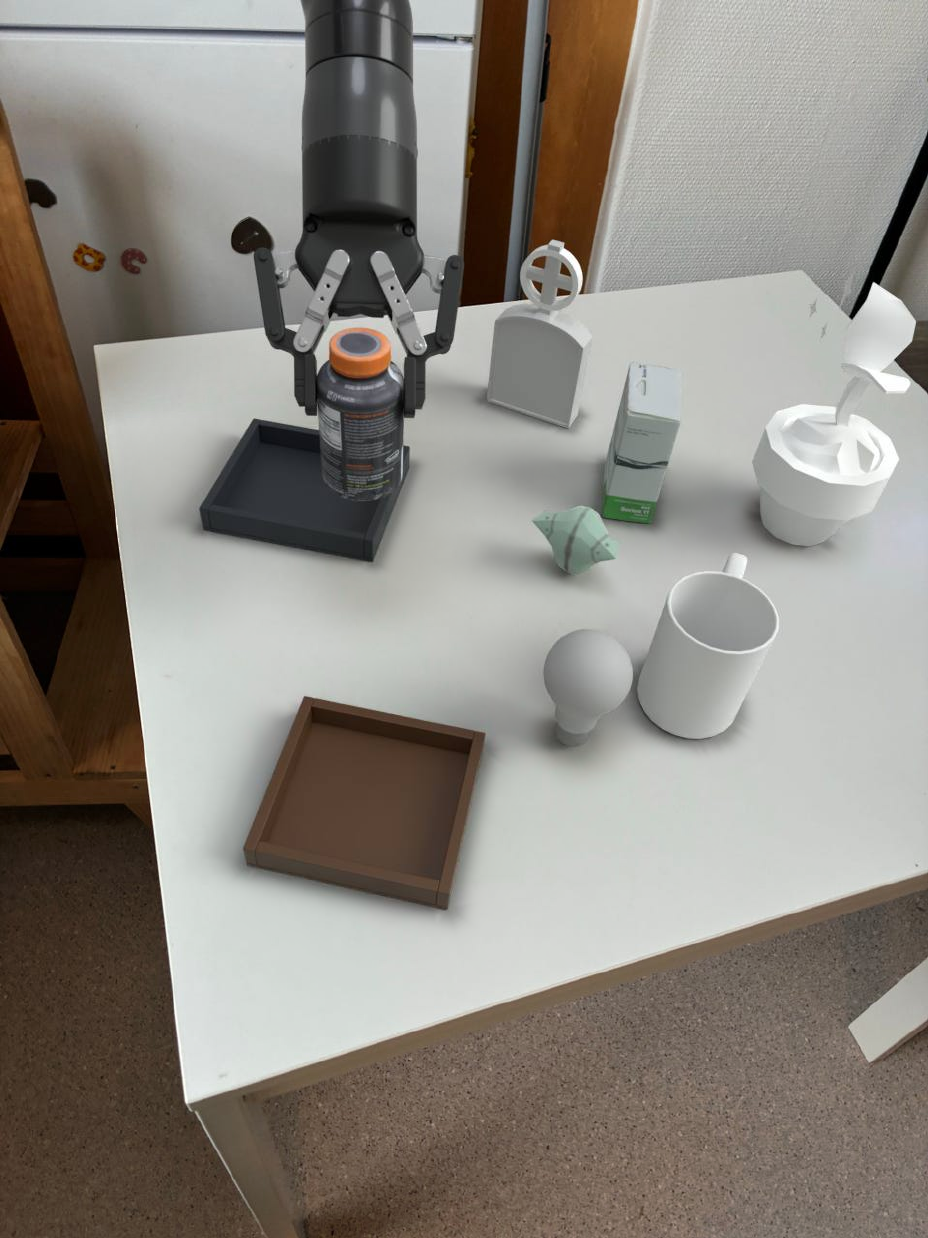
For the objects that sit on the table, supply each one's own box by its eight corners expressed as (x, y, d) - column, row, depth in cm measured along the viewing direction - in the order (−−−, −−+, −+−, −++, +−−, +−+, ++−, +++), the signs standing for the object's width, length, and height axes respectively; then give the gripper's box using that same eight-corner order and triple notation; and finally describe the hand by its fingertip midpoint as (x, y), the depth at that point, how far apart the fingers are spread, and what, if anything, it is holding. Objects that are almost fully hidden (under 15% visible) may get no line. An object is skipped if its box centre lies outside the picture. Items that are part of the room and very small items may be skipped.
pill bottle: (410, 460, 68) (416, 325, 60) (391, 510, 65) (394, 374, 56) (334, 445, 69) (329, 310, 60) (311, 495, 65) (301, 358, 56)
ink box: (651, 526, 85) (683, 421, 76) (599, 518, 85) (625, 413, 76) (653, 468, 90) (682, 365, 82) (604, 461, 91) (628, 357, 82)
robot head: (521, 564, 80) (530, 506, 75) (543, 538, 83) (553, 480, 77) (601, 602, 78) (617, 545, 73) (621, 574, 80) (638, 517, 75)
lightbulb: (607, 708, 70) (637, 614, 62) (612, 775, 66) (645, 684, 58) (529, 702, 70) (548, 607, 62) (530, 770, 66) (551, 677, 58)
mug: (724, 755, 68) (768, 669, 60) (624, 718, 70) (654, 629, 62) (754, 644, 76) (797, 555, 68) (663, 613, 77) (695, 522, 69)
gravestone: (568, 428, 94) (599, 263, 80) (486, 401, 96) (503, 235, 83) (577, 415, 96) (609, 250, 82) (497, 388, 98) (515, 224, 84)
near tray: (246, 865, 60) (242, 848, 58) (306, 714, 68) (304, 695, 66) (447, 910, 58) (449, 894, 57) (483, 750, 67) (485, 732, 65)
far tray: (203, 530, 80) (198, 508, 78) (256, 439, 89) (253, 417, 87) (372, 562, 79) (372, 541, 77) (409, 467, 88) (410, 445, 86)
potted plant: (738, 474, 91) (831, 229, 72) (856, 503, 89) (982, 260, 70) (724, 556, 83) (824, 304, 64) (853, 590, 81) (995, 341, 62)
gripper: (239, 123, 55) (243, 403, 56) (474, 135, 56) (473, 408, 57) (255, 175, 62) (258, 421, 63) (462, 184, 64) (462, 425, 65)
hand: (360, 414), depth 60 cm, fingers closed on pill bottle, 6 cm apart
